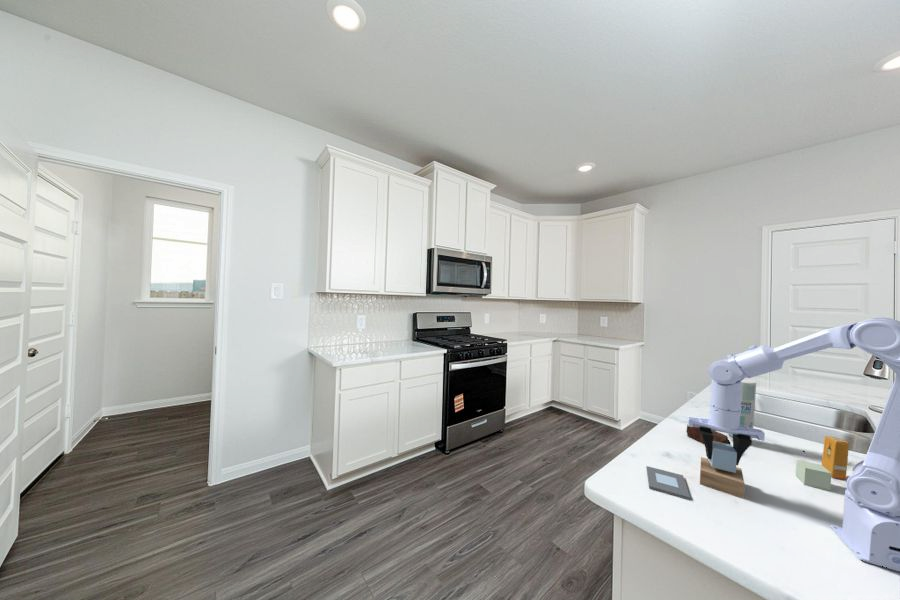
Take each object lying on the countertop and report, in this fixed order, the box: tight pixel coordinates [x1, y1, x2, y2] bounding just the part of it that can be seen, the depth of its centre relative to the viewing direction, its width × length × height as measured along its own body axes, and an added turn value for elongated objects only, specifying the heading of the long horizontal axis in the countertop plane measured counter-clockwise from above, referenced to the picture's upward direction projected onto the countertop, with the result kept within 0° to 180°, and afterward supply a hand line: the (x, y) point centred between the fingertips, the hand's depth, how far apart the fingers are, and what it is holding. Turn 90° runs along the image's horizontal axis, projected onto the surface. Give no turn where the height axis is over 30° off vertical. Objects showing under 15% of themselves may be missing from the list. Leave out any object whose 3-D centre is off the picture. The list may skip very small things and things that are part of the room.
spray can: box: [725, 378, 757, 442], centre depth 102 cm, size 6×6×20 cm
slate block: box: [707, 441, 737, 473], centre depth 78 cm, size 4×4×5 cm
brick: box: [685, 424, 732, 445], centre depth 99 cm, size 11×4×5 cm, turn 18°
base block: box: [699, 456, 745, 500], centre depth 78 cm, size 8×8×4 cm
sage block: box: [795, 459, 832, 492], centre depth 80 cm, size 4×4×4 cm
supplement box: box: [821, 435, 850, 480], centre depth 83 cm, size 3×3×10 cm
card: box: [646, 465, 691, 501], centre depth 78 cm, size 10×8×1 cm
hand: (721, 460), depth 78 cm, fingers closed on slate block, 4 cm apart
